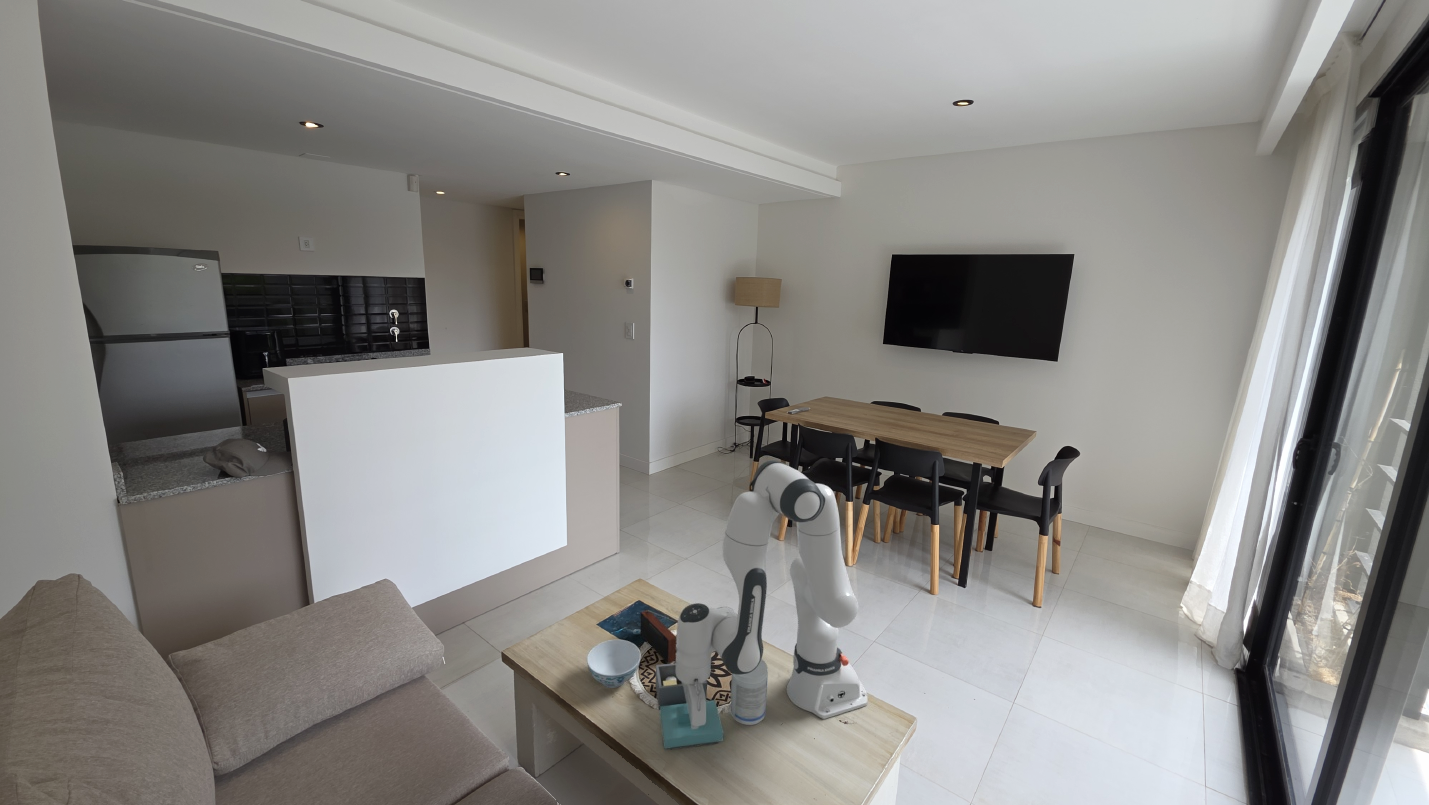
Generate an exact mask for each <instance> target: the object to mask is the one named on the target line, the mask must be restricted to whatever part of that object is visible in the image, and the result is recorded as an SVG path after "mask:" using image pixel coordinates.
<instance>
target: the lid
mask: <svg viewBox="0 0 1429 805" xmlns="http://www.w3.org/2000/svg"><path fill="white" fill-rule="evenodd" d="M659 718H660V719H659V720H660V726H661V730H662V738H663V747H664V749H670V748H673V747H680V746H688V745H695V744H703V743H710V742H718V743H719V742H723V741H724V730H723V725H722V723H721V722H722V721H721V718H720V715H719V710H718V707H717V703H716V700H715V699H713V700H706V723H705V725H702V726H699V727H698V729H692V728H691V723H690V718H689V713H688V708H687V703H686V704H677V705H669V706H660V710H659Z"/></svg>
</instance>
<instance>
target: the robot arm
mask: <svg viewBox="0 0 1429 805" xmlns="http://www.w3.org/2000/svg"><path fill="white" fill-rule="evenodd" d="M780 514H782V515H783V516H784V517H785V518H787V519H788V520H790V521H793V522H796V531H797V535H796V536H797V546H798V547H797V548H798V554H799V555H798V556H797V557H796V558H795V559H794V560H793V561H792V562H791V564H790V567H789V576H790V578H791V582H792V585H793V586H792V587H793V592H794V593H793V594H794V599H795V607H796V608H795V609H796V614H797V635H796V643H795V645H794V650H793V657H792V663H793V668H792V672H791V676H790V679H789V682H788V683H787V686H786V693H787V696H788V698H789V699H790V700H791V703H793V704H794V705H796V706H797V708H798V707H799V708H800V709H802V710H804V711H806V712H807V711H808V712H810V713H811V714H812V713H813V714H814V715H815V716H817V717H819V718H821V719H823V720H824V719H829V718H831V717H835V716H838V715H841V714H843V713H847V712H850V711H853V710H854V711H855V710H857V709H860V708H864V707H866V706H867V705H868V693H867V691H866V689H865V687H864V684H863V683H862V681H861V680H860V679H859V676H858V674H857V672H856V671H855V668H854V667H853V666H852V665H851V663H850V661H849V660H848V658H847V656H846V655H843V652H842V650H841V649H840V648H839V647H838V643H839V642H838V641H839V633H840V632H839V631H840V630H839V628H840V629H841V628H845V627H847V626H848V625H850V624H851V623H852V622H854V620H855V619H856V618H857V615H858V613H859V603H858V600H857V597H856V596H855V594H854V591H853V588H852V586H851V582H850V579H849V575H848V570H847V568H846V567H847V566H846V564H845V560H844V557H843V551H842V550H843V549H842V541H841V523H840V515H839V514H840V513H839V509H838V503H837V500H836V496H835V493H834V491H833V490H832V489H831V487H829V486H828V485H825V484H824V483H815V482H814V481H812V480H811V479H809V477H807V476H806V475H805V474H803V472H801V471H799V470H797V469H795V468H793V467H791V466H789V465H788V464H786V463H785V462H783V461H780V460H771V459H770V460H767V461H765V462H763V463H762V464H761V465H759V466H758V468H757V469H756V471H755V472H754V475H753V478H752V480H751V481H750V483H749V491H745V492H744V491H743V492H741V494H739V495H738V496H737V497H736V499H735V500H734V503H733V505H732V508H731V510H730V513H729V515H728V518H727V522H726V525H725V526H726V527H725V531H724V535H723V540H722V557H723V562H724V563H725V565H726V567H727V569H728V571H729V574H731V576H732V579H733V582H734V583H735V586H736V589H737V594H738V610H737V612H736V611H735V609H733V608H731V607H728V606H720V607H717V608H714V607H709V606H708V605H706V604H704V603H701V602H700V603H696V602H695V603H691V604H688V605H686V606H685V607H684V608H683V609H682V611H681V612H680V614H679V616H678V619H677V622H678V623H676V624H677V626H676V635H675V636H676V660H675V663H676V670H675V673H676V676H677V678H678V679H679V680H680V681H681V682H682V683H683V688H684V693H685V698H686V703H687V708H688V713H689V718H690V723H691V728H692V729H698V727H699V726H702V725H705V723H706V701H707V700H706V698H705V693H704V689H703V685H702V683H703V682H704V681H706V680H707V681H708V680H709V677H710V676H711V665H712V664H711V663H712V655H713V653H715V652H716V653H717V654H718V656H719V657H720V658H721V661H722V662H723V665H724V667H725V668H726V671H728V673H730V674H731V675H732V674H738V675H742V674H747V673H750V672H752V671H753V670H754V669H756V667H757V666H758V665H759V663H760V661H761V659H762V658H763V654H764V644H763V638H762V635H763V634H762V632H763V623H764V616H765V607H766V601H767V600H766V598H767V587H768V586H767V585H768V584H767V555H768V547H769V543H770V542H769V541H770V538H771V532H772V526H773V524H774V521H775V520H776V519H777V518H778V516H779V515H780ZM762 660H763V659H762ZM861 691H863V692H861Z"/></svg>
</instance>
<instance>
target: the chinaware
mask: <svg viewBox="0 0 1429 805" xmlns="http://www.w3.org/2000/svg"><path fill="white" fill-rule="evenodd" d="M641 656H642V654H641V651H640V649H639V647H638V646H637V645H636V644H635V643H633V642H631V641H628V640H625V639H609V640H605V641H602V642H600V643H598V644H596V645H595V646H593V648H591V650H590V651H589V652H588V654H587V657H586V662H587V666H588V670H589V672H590V674H591V675H592V677H593V678H594V679H595V681H597V682H598V683H599V684H601V685H604V686H605V687H607V688H611V689H614V688H616V689H617V688H619V687H620V686H623V685H624V684H625V683H626V682H628V681H629V680H631V678H632V677H633V676H634V675H635V673H636V672H637V670H638V668H639V665H640V663H641V662H640V661H641Z"/></svg>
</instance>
